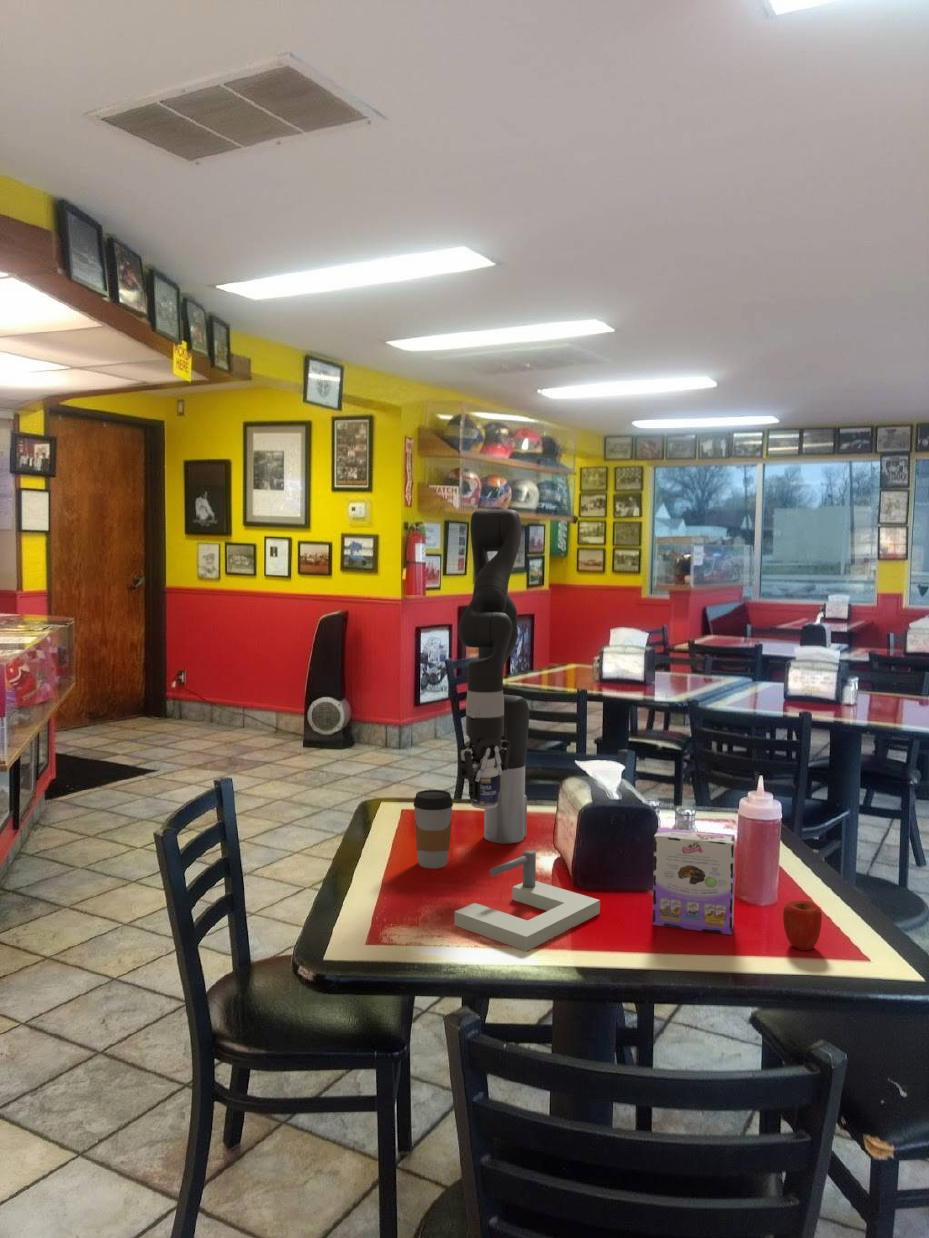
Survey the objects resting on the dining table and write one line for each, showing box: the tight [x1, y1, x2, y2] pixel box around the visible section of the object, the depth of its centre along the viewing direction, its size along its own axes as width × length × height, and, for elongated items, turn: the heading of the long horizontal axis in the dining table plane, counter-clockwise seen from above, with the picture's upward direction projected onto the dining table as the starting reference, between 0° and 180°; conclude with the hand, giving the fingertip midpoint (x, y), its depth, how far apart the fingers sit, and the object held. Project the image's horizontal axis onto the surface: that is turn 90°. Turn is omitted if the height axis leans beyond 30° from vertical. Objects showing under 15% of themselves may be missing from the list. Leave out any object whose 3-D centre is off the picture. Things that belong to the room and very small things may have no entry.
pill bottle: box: [470, 758, 498, 810], centre depth 186 cm, size 5×5×10 cm
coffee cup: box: [413, 789, 454, 869], centre depth 196 cm, size 8×8×15 cm
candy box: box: [651, 827, 736, 935], centre depth 166 cm, size 14×6×16 cm, turn 71°
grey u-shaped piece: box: [453, 849, 601, 952], centre depth 167 cm, size 22×16×9 cm
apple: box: [782, 900, 823, 951], centre depth 157 cm, size 6×6×8 cm
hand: (484, 795), depth 186 cm, fingers closed on pill bottle, 5 cm apart
